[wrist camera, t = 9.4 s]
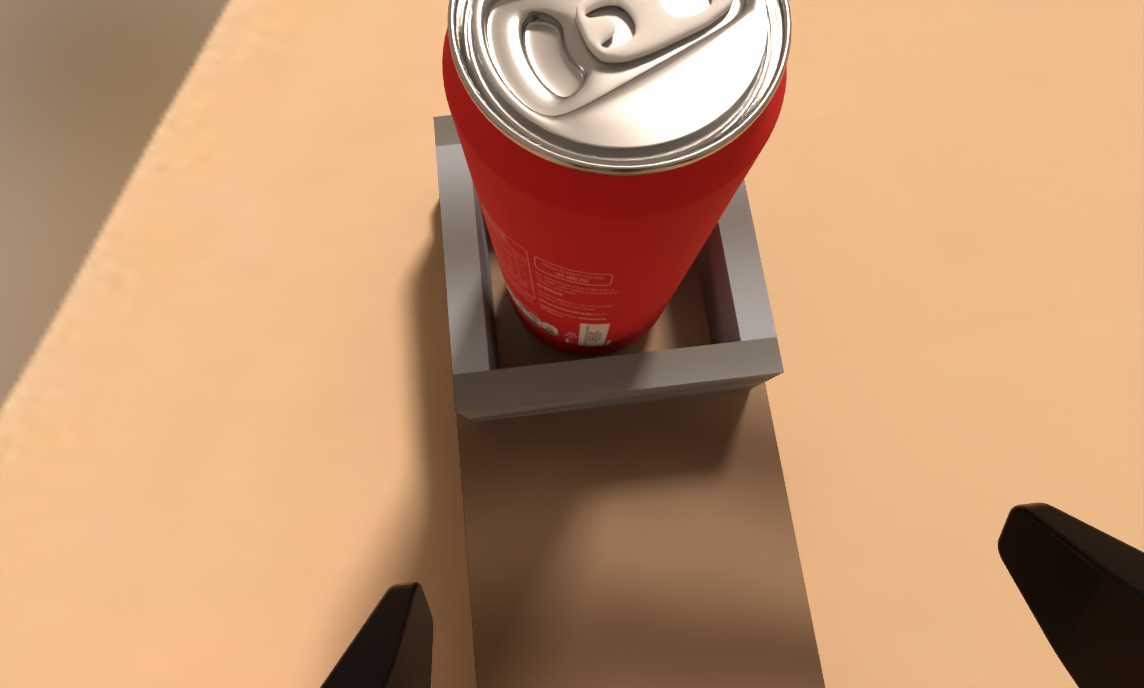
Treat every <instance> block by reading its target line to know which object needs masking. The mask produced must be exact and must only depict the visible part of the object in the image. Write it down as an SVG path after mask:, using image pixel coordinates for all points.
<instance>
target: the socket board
mask: <svg viewBox="0 0 1144 688" xmlns="http://www.w3.org/2000/svg"><path fill="white" fill-rule="evenodd" d="M434 128H435V142H436V155H437V169H438V182H439V196H440V209H441V223H442V236H443V250H444V263H445V277H446V290H447V304H448V317H449V331H450V344H451V358H452V371H453V385H454V398H455V411H456V412H457V425H458V438H459V451H460V465H461V478H462V492H463V505H464V519H465V532H466V545H467V559H468V572H469V586H470V599H471V612H472V626H473V639H474V653H475V666H476V679H477V688H825V684H824V679H823V674H822V669H821V664H820V659H819V654H818V649H817V644H816V639H815V634H814V629H813V624H812V619H811V614H810V608H809V603H808V598H807V593H806V588H805V583H804V578H803V573H802V568H801V563H800V558H799V553H798V548H797V543H796V538H795V533H794V528H793V523H792V517H791V512H790V507H789V502H788V497H787V492H786V487H785V482H784V477H783V472H782V467H781V462H780V457H779V452H778V447H777V442H776V437H775V432H774V426H773V421H772V416H771V411H770V406H769V401H768V396H767V391H766V386H765V382H766V381H767V380H769V379H771V378H773V377H775V376H777V375H779V374H781V373H783V372H784V371H783V366H782V361H781V356H780V351H779V346H778V341H777V337H776V332H775V327H774V322H773V317H772V312H771V308H770V303H769V298H768V293H767V288H766V283H765V278H764V274H763V269H762V264H761V259H760V254H759V249H758V244H757V240H756V235H755V230H754V225H753V220H752V215H751V211H750V206H749V201H748V196H747V191H746V186H745V181H744V180H743V181H742V183H741V185H740V186H739V188H738V189H737V191H736V193H735V194H734V196H733V198H732V199H731V201H730V203H729V204H728V206H727V207H726V209H725V211H724V212H723V214H722V216H721V217H720V219H719V221H718V222H717V224H716V225H715V227H714V229H713V230H712V232H711V234H710V235H709V237H708V239H707V240H706V242H705V243H704V245H703V247H702V248H701V250H700V252H699V253H698V255H697V257H696V258H695V260H694V261H693V263H692V265H691V266H690V268H689V270H688V271H687V273H686V275H685V276H684V278H683V279H682V281H681V283H680V284H679V286H678V288H677V289H676V291H675V293H674V294H673V296H672V297H671V299H670V301H669V302H668V304H667V306H666V307H665V309H664V311H663V312H662V314H661V315H660V317H659V319H658V320H657V322H656V323H655V324H654V326H653V327H652V328H651V329H650V330H649V331H648V332H647V333H646V334H645V335H644V336H643V337H642V338H640V339H639V340H638V341H636V342H635V343H633V344H631V345H630V346H628V347H626V348H624V349H621V350H618V351H616V352H612V353H608V354H603V355H594V356H584V355H575V354H570V353H566V352H563V351H560V350H558V349H555V348H553V347H551V346H549V345H547V344H545V343H544V342H542V341H541V340H539V339H538V338H537V337H536V336H534V335H533V334H532V333H531V332H530V331H529V330H528V329H527V328H526V327H525V325H524V324H523V323H522V322H521V320H520V319H519V317H518V315H517V314H516V312H515V310H514V308H513V305H512V303H511V300H510V297H509V294H508V291H507V288H506V284H505V281H504V278H503V275H502V272H501V269H500V266H499V262H498V259H497V256H496V253H495V250H494V247H493V244H492V240H491V237H490V234H489V231H488V228H487V225H486V222H485V218H484V215H483V212H482V209H481V206H480V203H479V200H478V196H477V193H476V190H475V187H474V184H473V181H472V178H471V174H470V171H469V168H468V165H467V162H466V159H465V155H464V152H463V149H462V146H461V143H460V140H459V137H458V133H457V130H456V127H455V124H454V121H453V118H452V115H449V116H439V117H434Z"/></svg>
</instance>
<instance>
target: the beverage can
mask: <svg viewBox="0 0 1144 688" xmlns="http://www.w3.org/2000/svg"><path fill="white" fill-rule="evenodd" d="M790 45H791V13H790V6H789V1H788V0H449V6H448V27H447V31H446V35H445V41H444V47H443V59H442V65H443V80H444V88H445V93H446V98H447V101H448V105H449V108H450V111H451V115H452V118H453V121H454V124H455V127H456V130H457V133H458V137H459V140H460V143H461V146H462V149H463V152H464V155H465V159H466V162H467V165H468V168H469V171H470V174H471V178H472V181H473V184H474V187H475V190H476V193H477V196H478V200H479V203H480V206H481V209H482V212H483V215H484V218H485V222H486V225H487V228H488V231H489V234H490V237H491V240H492V244H493V247H494V250H495V253H496V256H497V259H498V262H499V266H500V269H501V272H502V275H503V278H504V281H505V284H506V288H507V291H508V294H509V297H510V300H511V303H512V305H513V308H514V310H515V312H516V314H517V315H518V317H519V319H520V320H521V322H522V323H523V324H524V325H525V327H526V328H527V329H528V330H529V331H530V332H531V333H532V334H533V335H534V336H536V337H537V338H538V339H539V340H541V341H542V342H544V343H545V344H547V345H549V346H551V347H553V348H555V349H558V350H560V351H563V352H566V353H570V354H575V355H584V356H594V355H603V354H608V353H612V352H616V351H618V350H621V349H624V348H626V347H628V346H630V345H631V344H633V343H635V342H636V341H638V340H639V339H640V338H642V337H643V336H644V335H645V334H646V333H647V332H648V331H649V330H650V329H651V328H652V327H653V326H654V324H655V323H656V322H657V320H658V319H659V317H660V315H661V314H662V312H663V311H664V309H665V307H666V306H667V304H668V302H669V301H670V299H671V297H672V296H673V294H674V293H675V291H676V289H677V288H678V286H679V284H680V283H681V281H682V279H683V278H684V276H685V275H686V273H687V271H688V270H689V268H690V266H691V265H692V263H693V261H694V260H695V258H696V257H697V255H698V253H699V252H700V250H701V248H702V247H703V245H704V243H705V242H706V240H707V239H708V237H709V235H710V234H711V232H712V230H713V229H714V227H715V225H716V224H717V222H718V221H719V219H720V217H721V216H722V214H723V212H724V211H725V209H726V207H727V206H728V204H729V203H730V201H731V199H732V198H733V196H734V194H735V193H736V191H737V189H738V188H739V186H740V185H741V183H742V181H743V180H744V178H745V176H746V175H747V173H748V171H749V170H750V168H751V167H752V165H753V163H754V162H755V160H756V158H757V157H758V155H759V153H760V152H761V150H762V149H763V147H764V145H765V144H766V142H767V140H768V139H769V137H770V135H771V133H772V131H773V129H774V127H775V124H776V122H777V119H778V117H779V114H780V110H781V107H782V103H783V99H784V94H785V87H786V75H787V65H786V64H787V61H788V56H789V51H790Z"/></svg>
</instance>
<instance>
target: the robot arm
mask: <svg viewBox="0 0 1144 688" xmlns="http://www.w3.org/2000/svg"><path fill="white" fill-rule="evenodd" d="M998 550H999V554H1000V557H1001V559H1002V561H1003V562H1004V564H1005V566H1006V568H1007V569H1008V571H1009V573H1010V575H1011V576H1012V578H1013V580H1014V582H1015V583H1016V585H1017V587H1018V589H1019V590H1020V592H1021V594H1022V596H1023V597H1024V599H1025V601H1026V603H1027V604H1028V606H1029V608H1030V610H1031V611H1032V613H1033V615H1034V617H1035V618H1036V620H1037V622H1038V624H1039V625H1040V627H1041V629H1042V631H1043V632H1044V634H1045V636H1046V638H1047V639H1048V641H1049V643H1050V644H1051V646H1052V648H1053V649H1054V651H1055V653H1056V654H1057V656H1058V657H1059V659H1060V660H1061V662H1062V663H1063V665H1064V666H1065V668H1066V669H1067V671H1068V672H1069V674H1070V675H1071V677H1072V678H1073V680H1074V681H1075V683H1076V684H1077V685H1078V687H1079V688H1144V552H1142V551H1140V550H1138V549H1136V548H1134V547H1132V546H1130V545H1128V544H1126V543H1124V542H1122V541H1120V540H1118V539H1116V538H1114V537H1112V536H1110V535H1108V534H1106V533H1104V532H1102V531H1100V530H1098V529H1096V528H1094V527H1092V526H1090V525H1088V524H1086V523H1084V522H1082V521H1080V520H1078V519H1077V518H1075V517H1073V516H1071V515H1069V514H1067V513H1065V512H1063V511H1061V510H1059V509H1057V508H1055V507H1053V506H1050V505H1048V504H1045V503H1030V504H1022V505H1017V506H1014V507H1013V508H1012V509H1011V510H1010V512H1009V514H1008V517H1007V519H1006V522H1005V525H1004V527H1003V530H1002V532H1001V535H1000V537H999V540H998ZM432 644H433V620H432V615H431V612H430V609H429V606H428V603H427V601H426V598H425V595H424V592H423V589H422V587H421V585H420V584H419V583H417V582H410V583H402V584H396V585H393V586H391V587H390V588H389V589H388V590H387V592H386V593H385V595H384V596H383V597H382V599H381V600H380V602H379V603H378V605H377V606H376V608H375V609H374V610H373V612H372V613H371V615H370V616H369V618H368V619H367V621H366V622H365V624H364V625H363V626H362V628H361V629H360V631H359V632H358V634H357V635H356V637H355V638H354V639H353V641H352V642H351V644H350V645H349V647H348V648H347V650H346V651H345V652H344V654H343V655H342V657H341V658H340V660H339V661H338V663H337V664H336V666H335V667H334V668H333V670H332V671H331V673H330V674H329V676H328V677H327V679H326V680H325V681H324V683H323V684H322V686H321V687H320V688H430V687H431V665H432Z"/></svg>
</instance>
